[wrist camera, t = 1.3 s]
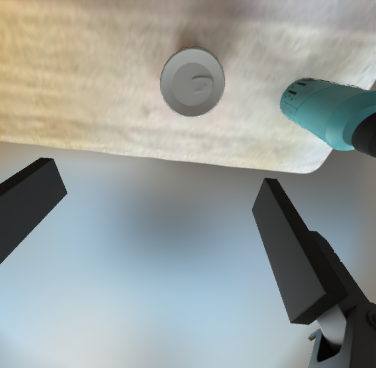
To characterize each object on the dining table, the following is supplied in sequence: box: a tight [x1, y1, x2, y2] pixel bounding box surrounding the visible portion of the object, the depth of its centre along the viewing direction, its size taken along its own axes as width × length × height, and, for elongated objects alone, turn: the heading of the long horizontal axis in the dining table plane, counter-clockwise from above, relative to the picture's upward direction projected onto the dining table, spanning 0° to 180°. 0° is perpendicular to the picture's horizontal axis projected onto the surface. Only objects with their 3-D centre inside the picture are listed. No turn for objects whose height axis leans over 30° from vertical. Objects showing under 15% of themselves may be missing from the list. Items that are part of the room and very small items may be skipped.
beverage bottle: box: [280, 78, 376, 157], centre depth 23 cm, size 6×7×20 cm
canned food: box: [160, 47, 225, 118], centre depth 26 cm, size 8×8×11 cm
